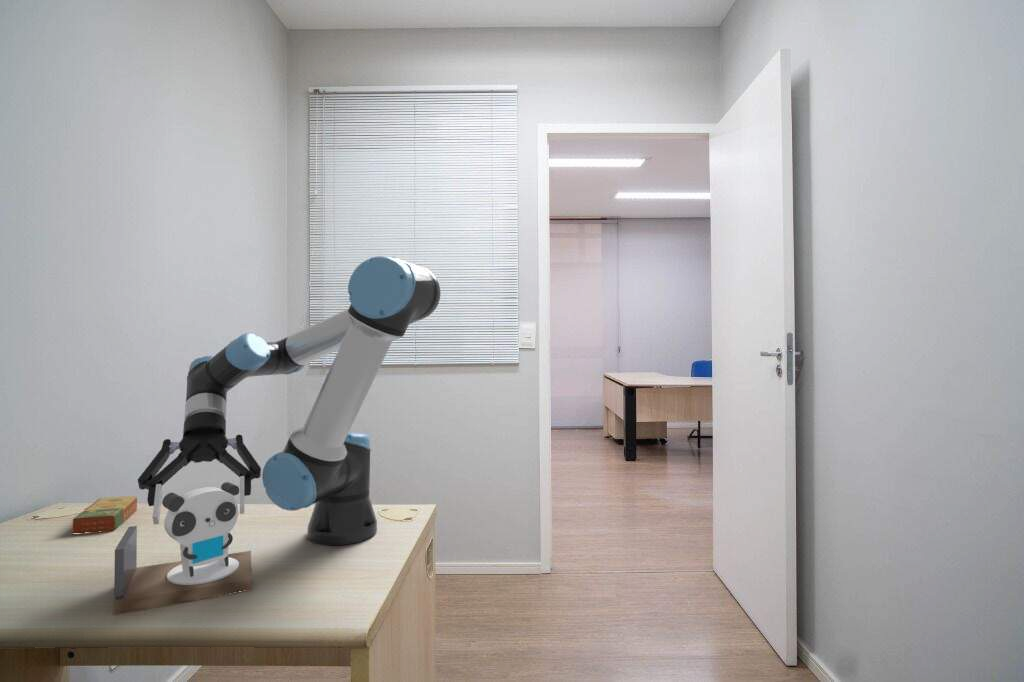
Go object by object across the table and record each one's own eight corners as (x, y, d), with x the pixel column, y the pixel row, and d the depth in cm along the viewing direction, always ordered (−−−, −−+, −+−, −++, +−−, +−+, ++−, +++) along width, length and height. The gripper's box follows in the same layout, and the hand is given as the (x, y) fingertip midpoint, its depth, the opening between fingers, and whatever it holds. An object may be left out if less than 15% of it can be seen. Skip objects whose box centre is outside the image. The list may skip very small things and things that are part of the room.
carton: (137, 511, 139) (137, 494, 139) (115, 533, 124) (115, 514, 124) (98, 514, 136) (99, 497, 136) (71, 536, 121) (71, 517, 121)
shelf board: (250, 560, 108) (250, 550, 108) (251, 590, 95) (251, 578, 95) (129, 579, 99) (129, 568, 99) (112, 614, 86) (112, 602, 86)
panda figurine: (176, 592, 90) (177, 502, 90) (153, 572, 97) (154, 489, 97) (249, 570, 99) (250, 487, 99) (224, 553, 106) (224, 477, 106)
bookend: (136, 569, 99) (136, 525, 99) (123, 598, 88) (123, 548, 88) (128, 570, 98) (128, 526, 98) (114, 599, 87) (114, 550, 87)
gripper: (270, 427, 120) (274, 515, 106) (134, 435, 108) (119, 535, 95) (272, 406, 115) (276, 496, 102) (129, 412, 104) (113, 514, 90)
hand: (200, 515), depth 98 cm, fingers open, 13 cm apart
